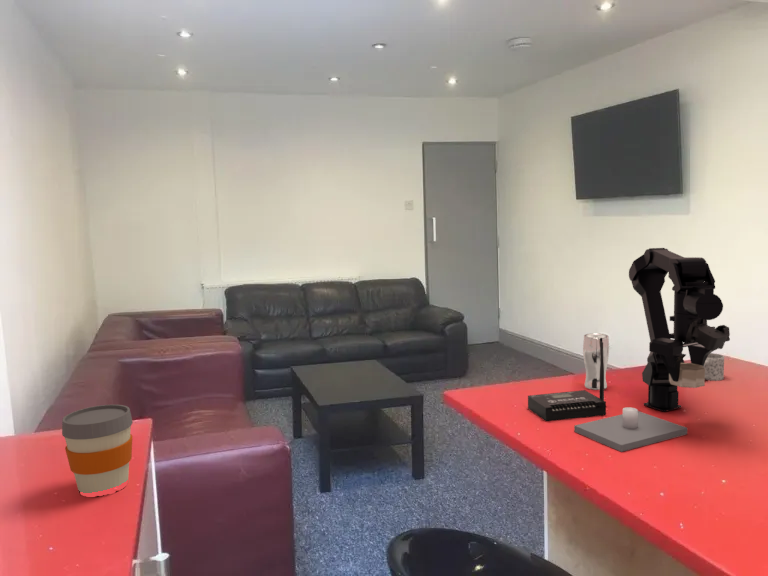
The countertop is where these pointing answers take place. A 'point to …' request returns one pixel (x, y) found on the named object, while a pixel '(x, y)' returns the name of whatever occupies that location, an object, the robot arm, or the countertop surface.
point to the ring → (690, 376)
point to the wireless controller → (569, 402)
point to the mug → (714, 367)
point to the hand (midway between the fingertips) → (686, 378)
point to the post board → (630, 430)
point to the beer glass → (595, 359)
